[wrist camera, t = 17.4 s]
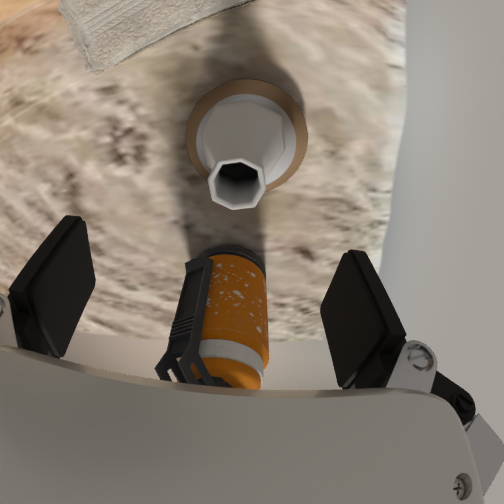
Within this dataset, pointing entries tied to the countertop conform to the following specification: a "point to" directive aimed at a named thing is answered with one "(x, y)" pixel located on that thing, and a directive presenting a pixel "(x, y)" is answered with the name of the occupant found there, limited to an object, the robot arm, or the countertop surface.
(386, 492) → the robot arm
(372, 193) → the countertop surface
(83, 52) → the washcloth
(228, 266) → the canister
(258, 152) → the flask
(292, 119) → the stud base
